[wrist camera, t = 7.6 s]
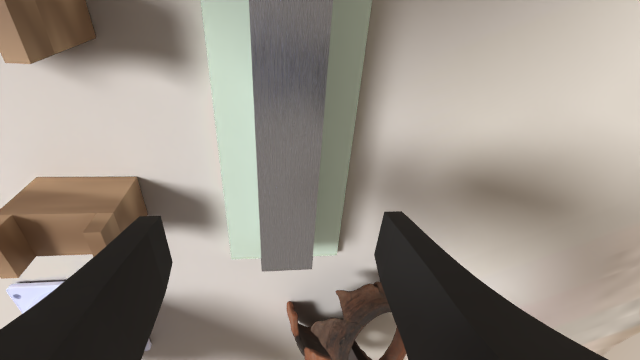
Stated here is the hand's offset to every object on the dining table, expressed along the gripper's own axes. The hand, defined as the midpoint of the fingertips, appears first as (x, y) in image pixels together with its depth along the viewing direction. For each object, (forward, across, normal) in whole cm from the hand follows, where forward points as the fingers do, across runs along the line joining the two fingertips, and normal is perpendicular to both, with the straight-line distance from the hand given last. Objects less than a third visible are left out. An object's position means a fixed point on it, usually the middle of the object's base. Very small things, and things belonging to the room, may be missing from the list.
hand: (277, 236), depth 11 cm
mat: (+10, -1, +1) cm, 10 cm away
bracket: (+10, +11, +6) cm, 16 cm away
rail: (+8, +1, 0) cm, 8 cm away
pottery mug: (+10, -6, +18) cm, 22 cm away
